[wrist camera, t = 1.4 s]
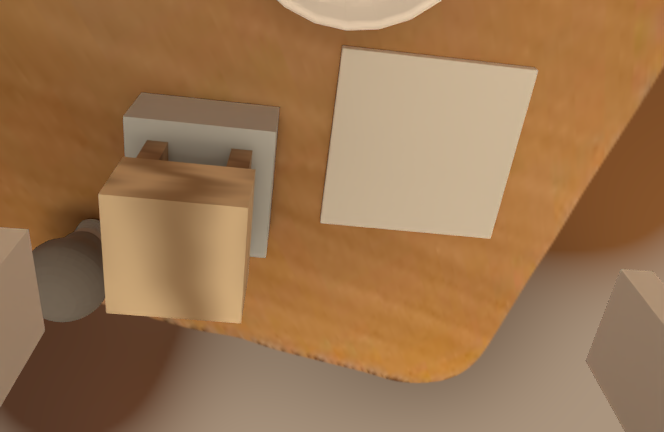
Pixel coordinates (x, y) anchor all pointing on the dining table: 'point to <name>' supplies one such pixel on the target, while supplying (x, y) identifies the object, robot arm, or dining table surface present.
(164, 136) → the gray square block
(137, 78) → the dining table surface
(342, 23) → the cup
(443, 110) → the mat
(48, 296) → the light bulb
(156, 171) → the stool
